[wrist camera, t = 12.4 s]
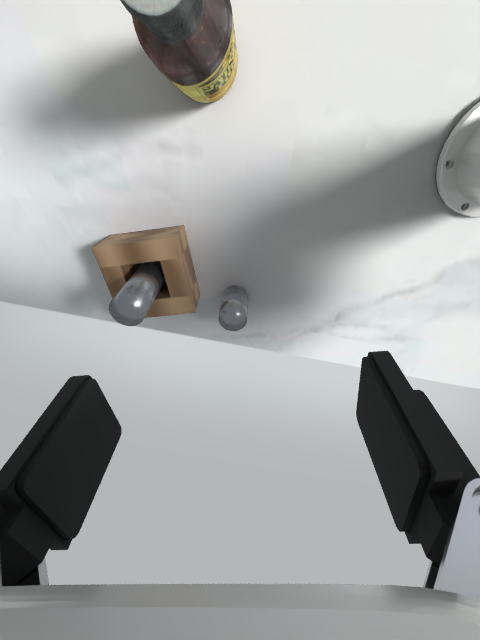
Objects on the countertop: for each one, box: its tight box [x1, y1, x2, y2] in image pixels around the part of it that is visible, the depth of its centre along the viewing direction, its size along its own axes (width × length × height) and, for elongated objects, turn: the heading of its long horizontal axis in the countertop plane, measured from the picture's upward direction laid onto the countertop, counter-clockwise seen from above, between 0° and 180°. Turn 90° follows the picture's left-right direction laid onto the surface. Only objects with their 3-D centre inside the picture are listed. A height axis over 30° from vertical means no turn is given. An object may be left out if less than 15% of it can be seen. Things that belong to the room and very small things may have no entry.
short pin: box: [219, 286, 247, 331], centre depth 40 cm, size 4×4×6 cm
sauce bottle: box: [120, 0, 238, 103], centre depth 20 cm, size 7×6×20 cm
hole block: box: [92, 225, 200, 318], centre depth 38 cm, size 10×10×5 cm
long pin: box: [109, 261, 166, 326], centre depth 35 cm, size 4×4×12 cm
